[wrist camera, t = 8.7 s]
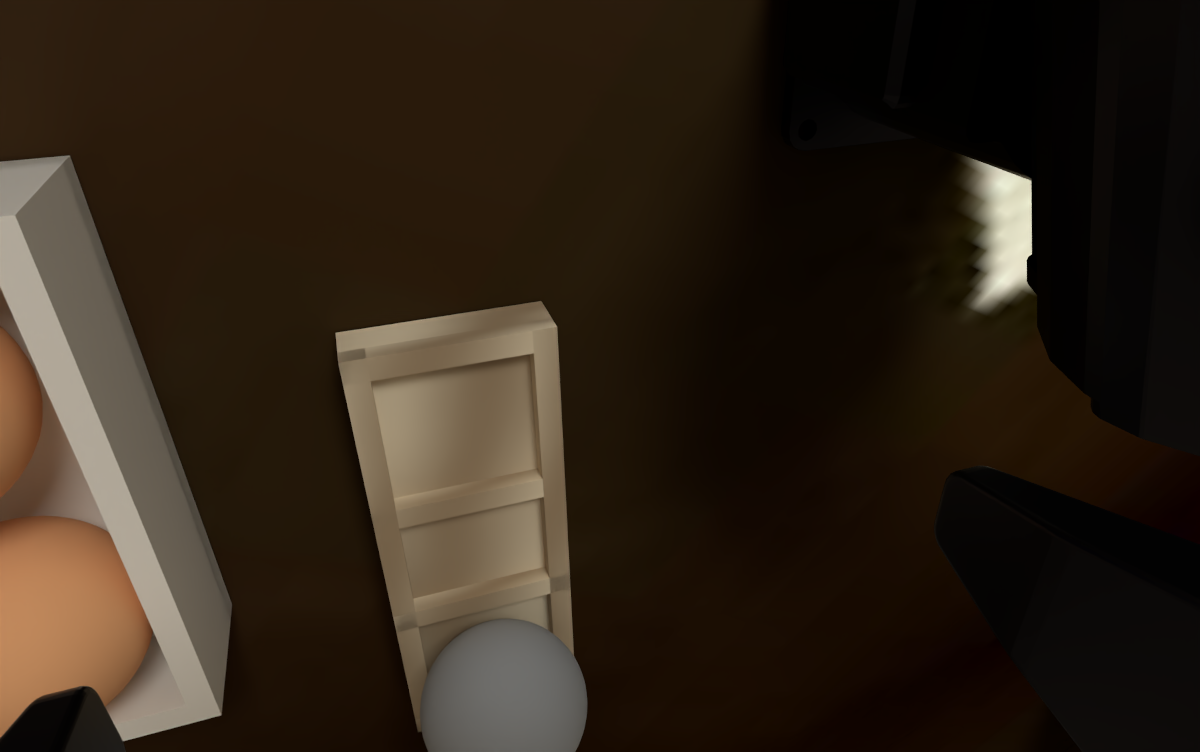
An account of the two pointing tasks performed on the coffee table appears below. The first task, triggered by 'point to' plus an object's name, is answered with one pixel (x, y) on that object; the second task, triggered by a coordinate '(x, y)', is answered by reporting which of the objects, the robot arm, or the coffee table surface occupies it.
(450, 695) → the ball slate grey
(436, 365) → the frame
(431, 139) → the coffee table surface
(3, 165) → the ceramic trough
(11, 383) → the terracotta ball
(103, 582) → the terracotta ball
